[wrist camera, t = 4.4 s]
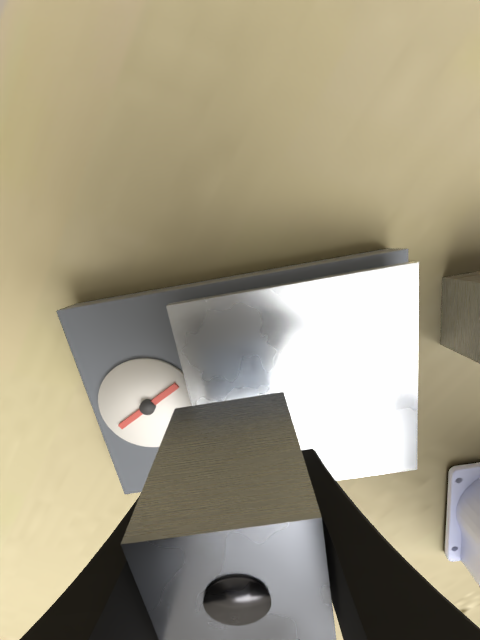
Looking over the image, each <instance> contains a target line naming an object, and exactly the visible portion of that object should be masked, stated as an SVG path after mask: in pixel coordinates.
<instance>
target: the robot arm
mask: <svg viewBox="0 0 480 640" xmlns="http://www.w3.org/2000/svg"><path fill="white" fill-rule="evenodd" d="M301 451H302V454H303V457H304V461H305V464H306V467H307V470H308V474H309V477H310V480H311V484H312V487H313V490H314V494H315V497H316V500H317V503H318V507H319V510H320V513H321V517H322V523H323V532H324V540H325V549H326V557H327V566H328V574H329V582H330V591H331V599H332V602H333V606H334V609H335V612H336V615H337V618H338V622H339V625H340V629H341V632H342V636H343V639H344V640H480V628H479V627H478V626H476V625H475V624H474V623H473V622H472V621H471V620H470V619H469V618H467V617H466V616H465V615H464V614H463V613H462V612H461V611H460V610H458V609H457V608H456V607H455V606H454V605H453V604H452V603H451V602H449V601H448V600H447V599H446V598H445V597H444V596H443V595H442V594H441V593H439V592H438V591H437V590H436V589H435V588H434V587H433V586H432V585H431V584H430V583H429V582H428V581H427V580H426V579H425V578H424V577H423V576H422V575H421V574H419V573H418V572H417V571H416V570H415V569H414V568H413V567H412V566H411V565H410V564H409V563H408V562H407V561H406V560H405V559H404V558H403V557H402V556H401V555H400V554H399V553H398V552H397V551H396V550H395V549H394V548H393V547H392V546H391V544H390V543H389V542H388V541H387V540H386V539H385V538H384V537H383V536H382V535H381V534H380V533H379V532H378V531H377V529H376V528H375V527H374V526H373V525H372V524H371V523H370V522H369V520H368V519H367V518H366V517H365V516H364V515H363V514H362V512H361V511H360V510H359V509H358V508H357V507H356V505H355V504H354V503H353V502H352V500H351V499H350V498H349V497H348V496H347V494H346V493H345V492H344V491H343V489H342V488H341V487H340V486H339V484H338V483H337V482H336V480H335V479H334V478H333V476H332V475H331V474H330V472H329V471H328V469H327V468H326V466H325V465H324V464H323V462H322V461H321V459H320V457H319V456H318V454H317V452H316V451H315V450H314V449H305V450H301ZM139 497H140V496H139ZM138 499H139V498H138ZM138 499H137V500H136V502H135V503H134V504H133V506H132V507H131V509H130V510H129V511H128V513H127V514H126V515H125V517H124V518H123V519H122V521H121V522H120V523H119V525H118V526H117V528H116V529H115V530H114V532H113V533H112V534H111V535H110V537H109V538H108V539H107V541H106V542H105V543H104V544H103V546H102V547H101V548H100V549H99V551H98V552H97V553H96V554H95V556H94V557H93V558H92V559H91V561H90V562H89V563H88V565H87V566H86V567H85V568H84V569H83V571H82V572H81V573H80V574H79V575H78V577H77V578H76V579H75V580H74V581H73V582H72V584H71V585H70V586H69V587H68V588H67V589H66V590H65V592H64V593H63V594H62V595H61V596H60V597H59V598H58V599H57V601H56V602H55V603H54V604H53V605H52V606H51V607H50V608H49V609H48V611H47V612H46V613H45V614H44V615H43V616H42V617H41V618H40V619H39V620H38V621H37V622H36V623H35V624H34V625H33V626H32V627H31V628H30V629H29V631H28V632H27V633H26V634H25V635H24V636H23V637H22V638H21V639H20V640H159V638H158V636H157V633H156V631H155V628H154V626H153V624H152V621H151V619H150V616H149V614H148V611H147V609H146V606H145V604H144V601H143V599H142V596H141V594H140V591H139V589H138V586H137V584H136V582H135V579H134V577H133V574H132V572H131V569H130V567H129V564H128V562H127V559H126V557H125V554H124V552H123V549H122V547H121V542H122V539H123V537H124V534H125V532H126V529H127V527H128V524H129V522H130V519H131V517H132V514H133V512H134V509H135V507H136V504H137V502H138ZM445 556H446V557H447V559H448V560H449V561H462V562H463V564H464V565H465V567H466V568H467V569H468V571H469V572H470V574H471V575H472V577H473V578H474V579H475V581H476V582H477V584H478V585H479V586H480V462H479V463H472V464H465V465H457V466H453V467H451V468H450V469H449V476H448V496H447V517H446V537H445Z"/></svg>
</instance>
